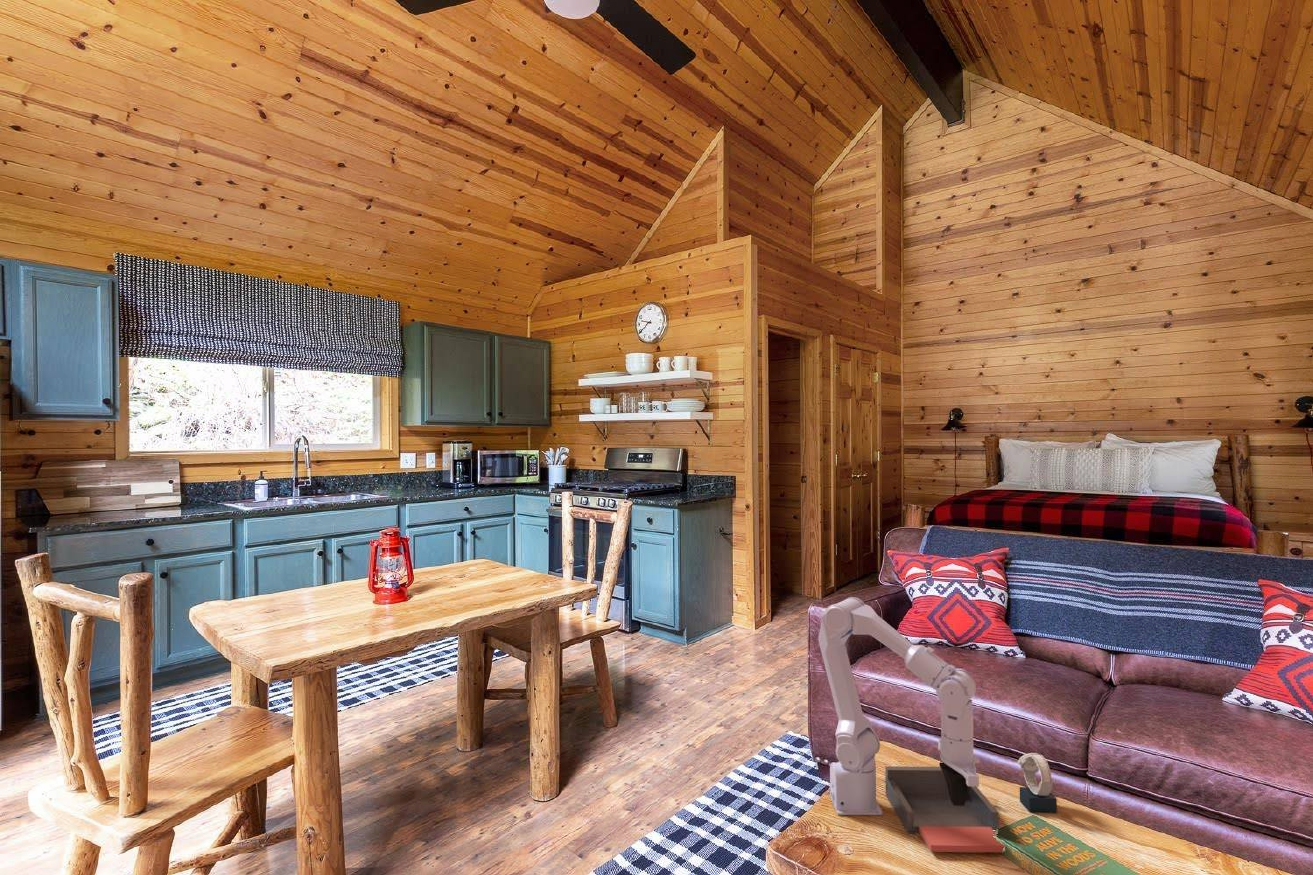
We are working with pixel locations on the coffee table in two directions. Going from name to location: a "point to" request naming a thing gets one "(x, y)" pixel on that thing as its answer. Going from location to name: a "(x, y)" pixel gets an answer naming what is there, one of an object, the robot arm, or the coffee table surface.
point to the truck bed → (934, 801)
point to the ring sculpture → (1034, 794)
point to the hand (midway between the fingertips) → (957, 803)
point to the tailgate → (960, 839)
